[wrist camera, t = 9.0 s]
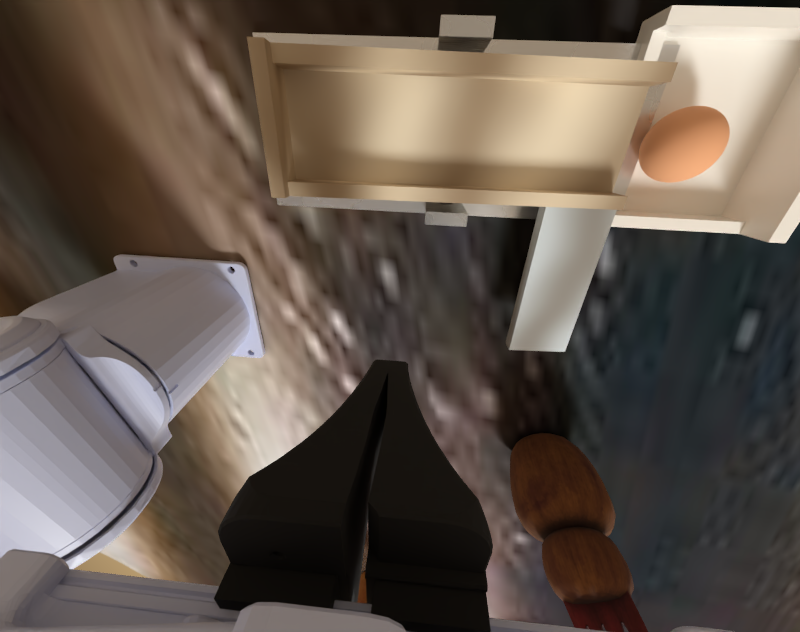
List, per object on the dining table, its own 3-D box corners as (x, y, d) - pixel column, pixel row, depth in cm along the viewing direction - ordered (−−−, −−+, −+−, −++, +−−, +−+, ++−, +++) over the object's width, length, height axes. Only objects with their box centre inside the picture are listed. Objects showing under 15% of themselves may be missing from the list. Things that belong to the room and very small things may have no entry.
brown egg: (690, 182, 16) (621, 177, 17) (723, 109, 15) (646, 108, 16) (720, 188, 14) (637, 182, 15) (765, 101, 12) (668, 101, 13)
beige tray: (309, 335, 21) (296, 361, 18) (273, 46, 13) (244, 25, 11) (558, 343, 21) (579, 370, 18) (656, 65, 14) (712, 48, 11)
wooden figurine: (583, 421, 27) (734, 692, 13) (575, 464, 29) (694, 725, 16) (501, 425, 27) (568, 681, 14) (501, 466, 30) (557, 714, 17)
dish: (580, 218, 19) (611, 233, 15) (642, 21, 14) (702, -13, 11) (723, 225, 18) (785, 243, 15) (831, 26, 14) (949, -8, 11)
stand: (281, 203, 20) (246, 218, 16) (258, 36, 16) (203, 1, 12) (609, 221, 19) (656, 241, 15) (671, 48, 15) (758, 14, 11)
